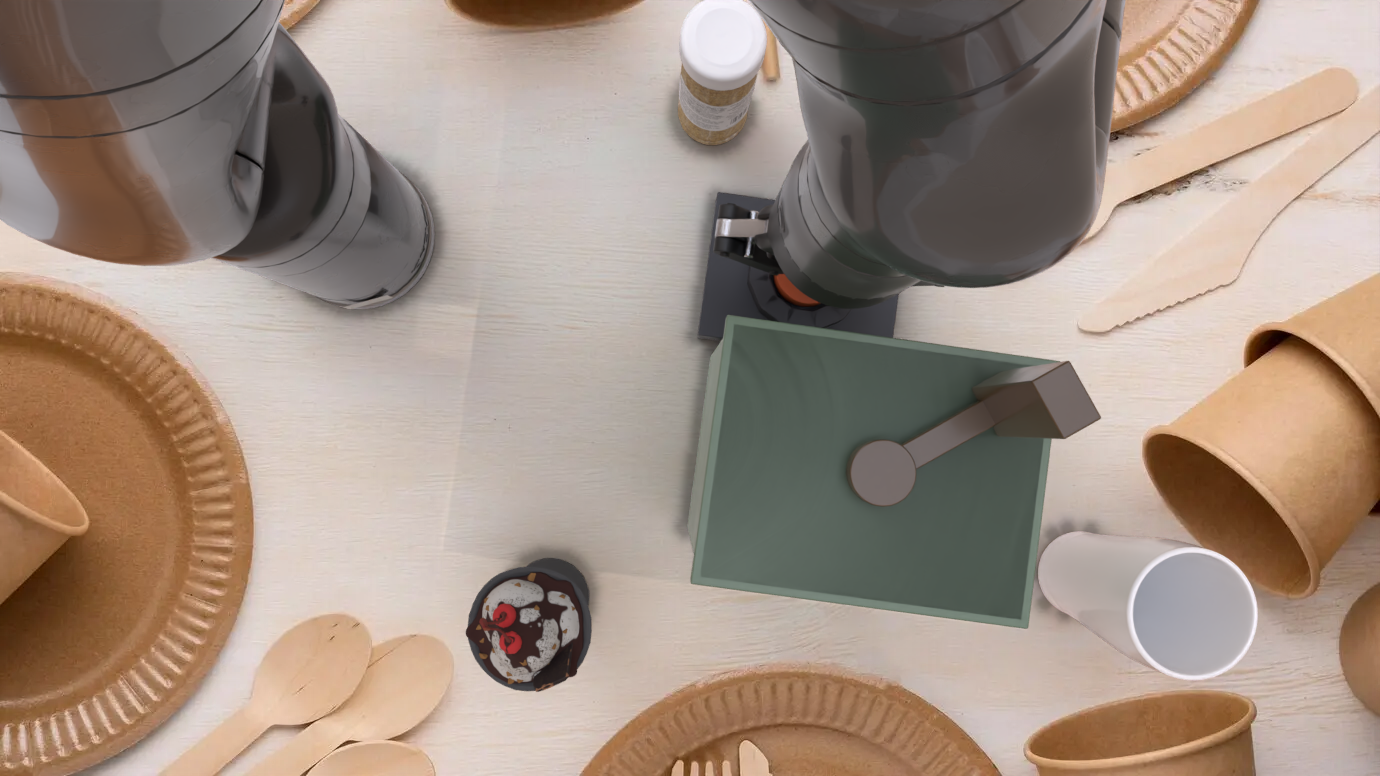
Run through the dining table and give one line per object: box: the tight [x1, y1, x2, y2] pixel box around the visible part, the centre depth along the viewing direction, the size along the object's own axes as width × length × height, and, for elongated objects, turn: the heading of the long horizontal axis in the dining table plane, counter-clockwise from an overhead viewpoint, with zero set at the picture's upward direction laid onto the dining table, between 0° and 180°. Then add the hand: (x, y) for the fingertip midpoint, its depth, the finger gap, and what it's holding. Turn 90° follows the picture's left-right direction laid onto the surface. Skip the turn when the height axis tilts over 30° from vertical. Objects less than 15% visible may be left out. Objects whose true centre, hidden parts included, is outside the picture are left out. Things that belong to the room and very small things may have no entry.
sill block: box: [686, 315, 1061, 630], centre depth 56 cm, size 15×12×22 cm
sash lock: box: [846, 360, 1102, 507], centre depth 41 cm, size 8×3×8 cm, turn 119°
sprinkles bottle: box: [677, 0, 768, 146], centre depth 61 cm, size 5×5×14 cm
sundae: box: [465, 557, 593, 693], centre depth 59 cm, size 7×7×15 cm
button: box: [773, 274, 821, 307], centre depth 63 cm, size 4×4×2 cm
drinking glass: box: [1037, 530, 1259, 681], centre depth 60 cm, size 7×7×15 cm
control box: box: [696, 191, 900, 342], centre depth 65 cm, size 12×9×4 cm
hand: (812, 270), depth 63 cm, fingers closed
